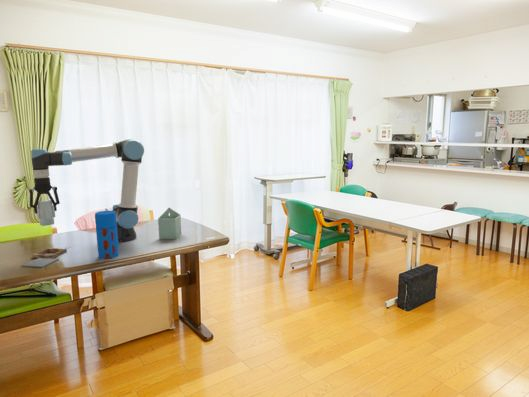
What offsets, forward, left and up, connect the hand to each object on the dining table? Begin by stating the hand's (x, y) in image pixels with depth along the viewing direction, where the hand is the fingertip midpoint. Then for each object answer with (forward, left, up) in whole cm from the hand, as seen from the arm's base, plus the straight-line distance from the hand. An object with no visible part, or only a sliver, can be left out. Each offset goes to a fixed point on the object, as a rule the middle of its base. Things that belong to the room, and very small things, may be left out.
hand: (46, 217), depth 210 cm
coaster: (-5, +13, -22) cm, 26 cm away
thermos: (-34, -4, -22) cm, 40 cm away
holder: (0, 0, -22) cm, 22 cm away
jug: (-1, +1, -4) cm, 4 cm away
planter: (-55, -45, -22) cm, 74 cm away
